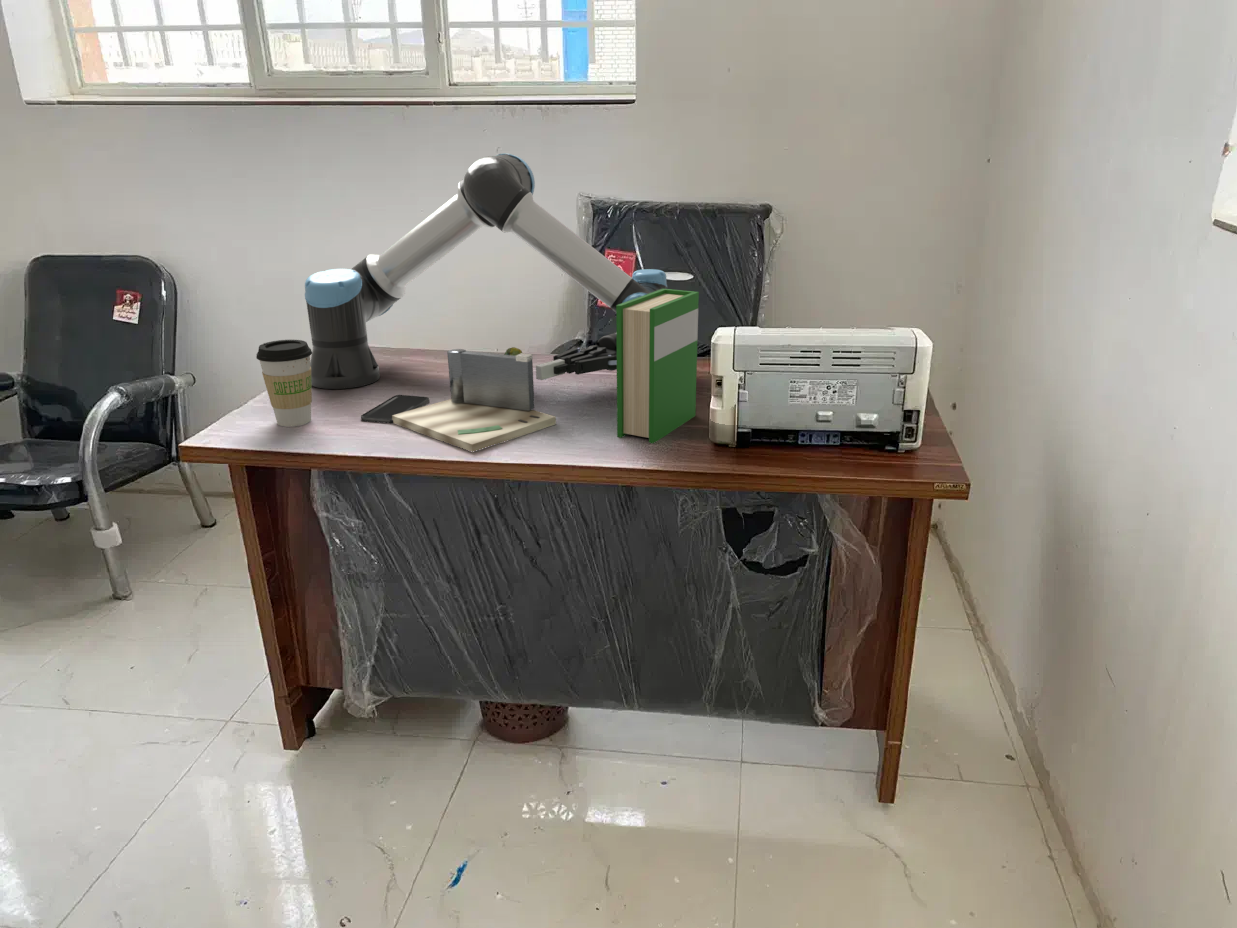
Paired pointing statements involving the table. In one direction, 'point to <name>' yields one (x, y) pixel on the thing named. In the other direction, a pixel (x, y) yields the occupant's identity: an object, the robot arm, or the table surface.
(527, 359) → the grey flat rounded-edge slab
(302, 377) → the coffee cup
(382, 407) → the phone
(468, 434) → the board
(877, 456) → the table surface
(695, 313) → the hardback book
